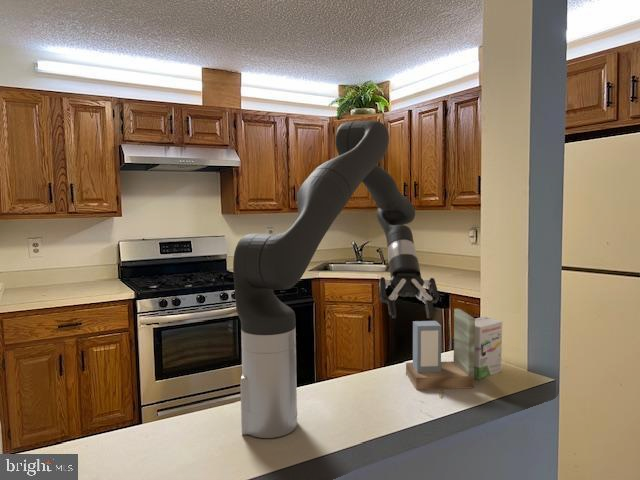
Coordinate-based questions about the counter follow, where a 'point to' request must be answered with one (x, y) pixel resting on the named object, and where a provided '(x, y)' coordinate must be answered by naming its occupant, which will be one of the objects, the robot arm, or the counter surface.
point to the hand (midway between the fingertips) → (412, 316)
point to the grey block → (426, 346)
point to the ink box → (487, 347)
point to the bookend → (454, 371)
